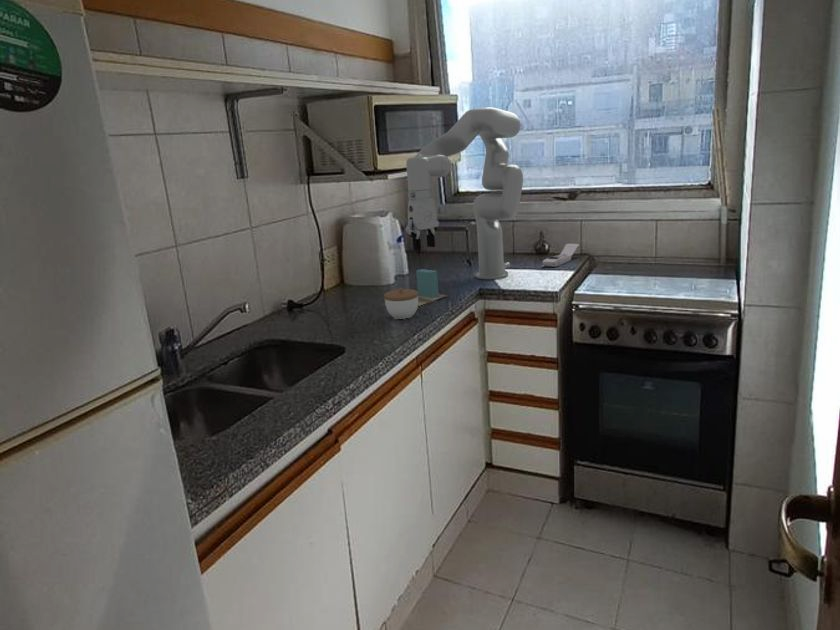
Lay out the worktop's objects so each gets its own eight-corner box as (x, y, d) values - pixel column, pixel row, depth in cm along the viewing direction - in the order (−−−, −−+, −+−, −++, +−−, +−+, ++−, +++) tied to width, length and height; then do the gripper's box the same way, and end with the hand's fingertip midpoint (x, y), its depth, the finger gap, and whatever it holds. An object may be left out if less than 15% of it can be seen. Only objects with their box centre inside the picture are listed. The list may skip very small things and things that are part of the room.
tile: (424, 293, 216) (422, 269, 214) (438, 296, 211) (436, 270, 209) (418, 295, 214) (416, 270, 212) (432, 298, 209) (430, 272, 207)
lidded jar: (426, 313, 194) (424, 285, 191) (407, 323, 185) (405, 293, 183) (398, 310, 200) (396, 283, 197) (379, 320, 191) (376, 291, 189)
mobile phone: (580, 243, 257) (552, 254, 239) (580, 257, 259) (552, 269, 241) (566, 243, 261) (538, 253, 243) (567, 256, 263) (538, 268, 244)
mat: (424, 293, 219) (424, 291, 219) (447, 297, 212) (447, 295, 212) (392, 304, 209) (392, 302, 208) (415, 308, 201) (415, 306, 201)
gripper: (409, 198, 195) (414, 254, 200) (445, 192, 206) (449, 244, 211) (393, 198, 200) (398, 252, 205) (429, 192, 211) (433, 243, 216)
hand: (424, 248), depth 208 cm, fingers open, 6 cm apart
